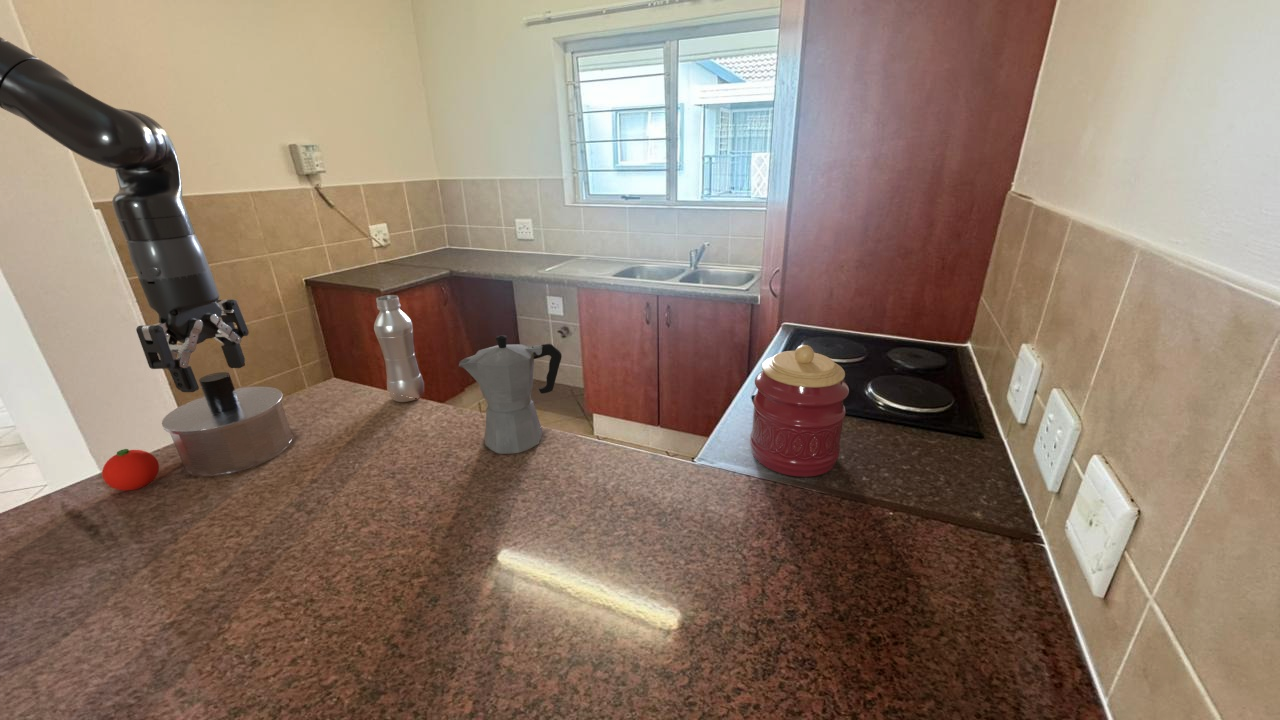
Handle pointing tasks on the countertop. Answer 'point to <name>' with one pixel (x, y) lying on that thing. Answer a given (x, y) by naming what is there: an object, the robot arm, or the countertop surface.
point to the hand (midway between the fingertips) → (215, 378)
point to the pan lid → (221, 406)
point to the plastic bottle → (398, 350)
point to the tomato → (130, 469)
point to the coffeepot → (511, 392)
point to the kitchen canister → (798, 413)
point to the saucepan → (235, 445)
